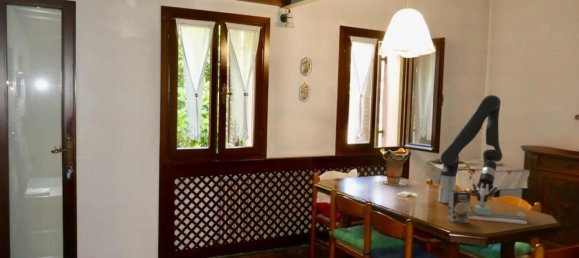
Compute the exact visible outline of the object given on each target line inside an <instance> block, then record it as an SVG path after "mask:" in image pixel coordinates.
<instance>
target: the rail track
mask: <svg viewBox="0 0 579 258" xmlns="http://www.w3.org/2000/svg"><path fill="white" fill-rule="evenodd" d="M527 217H528V216H527V215H526V214H525V213H523V212H522V211H519V210H518V211H517V215H516V214H505V213H495V212H494V213H493V212H491V213H490V215H483V214H476V212H475V211H472V210H471V209H470V208H469V219H468V220H478V221H488V222H500V223H510V224H511V223H512V224H523V225H527V224H528V221H527V219H528V218H527Z"/></svg>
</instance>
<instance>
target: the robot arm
mask: <svg viewBox="0 0 579 258" xmlns="http://www.w3.org/2000/svg"><path fill="white" fill-rule="evenodd" d="M500 108H501V99H500V97H498V96H497V95H493V94H488V95H486V96H484V97H483V99H482V100H481V101H480V103H479V105H478V107H477V109H476V110H475V112H474V113H473V114H472V115H471V116H470V117H469V119H468V120H467V121H466V122H465V124H464V125H463V126H462V128H461V129H460V130H459V132H458V133H457V135H456V136H455V138H454V139H453V141H452V143H450V144H449V146H447V148H446V149H445V150H444V151H443V152H442V153H441V155H440V161H441V163H442V165H443V166H442V168H441V171H440V183H439V187H438V198H437V199H438V200H437V201H438V202H439V203H442V204H448V205H449V196H450V190H456V187H457V186H456V183H457V174H458V171H459V162H460V156H459V155H460V153H461V151H462V150H463V149H464V148H465V147H467V146H468V145H469V144H470V143H471V142H473V140H474V139H475V137H477V135H478V134H479V132H481V129H482V127H483V125H484V123H485V121H486V127H485V144H486V145H487V146H490V147H493V148H494V149H491V148H490V149H485V150H484V151H483V153H482V158H483V165H482V169H481V172H480V176H479V180H478V183H477V184H476V183H475V184H474V183H472V189H473V191H474V195H477V196H476V200H477V201H478V202H480V192H481V188H484V189H486V193H485V198H484V202H485V203H486V202H488V199H489V197H490V198H492V197H493V196H494V195H496V193H497V192H498V187H497V186H494V181H495V178H496V171H497V163H496V162H500V161H502V160H503V153H502V150H501V147H500V139H499V118H500V116H499V115H500V110H501V109H500ZM477 189H478V190H477Z"/></svg>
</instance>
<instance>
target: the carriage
mask: <svg viewBox="0 0 579 258" xmlns="http://www.w3.org/2000/svg"><path fill="white" fill-rule="evenodd" d="M485 195H486V189H484V188H481V192H480V201H479V203H478V204H474V207H473V212H476V214H483V215H490V213H492V210H491V208H490V207H489V206H488V205H485V204H486V202H484V198H485Z"/></svg>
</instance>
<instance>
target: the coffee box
mask: <svg viewBox="0 0 579 258" xmlns="http://www.w3.org/2000/svg"><path fill="white" fill-rule="evenodd" d="M471 194H472V193H470V192H469V191H467V190H456V189H455V190H450V196H449V204H448V209H447V217H446V220H449V221H450V222H451V223H463V224H464V223H466V224H467V223H468V224H469V220H470V219H469V209H470V206H471Z"/></svg>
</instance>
